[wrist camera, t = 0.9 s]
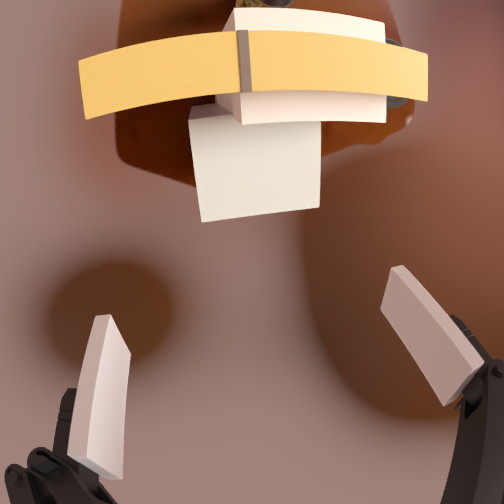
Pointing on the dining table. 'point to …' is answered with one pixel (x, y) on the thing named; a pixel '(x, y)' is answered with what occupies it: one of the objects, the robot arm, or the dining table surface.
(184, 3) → the dining table surface
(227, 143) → the grey upright block
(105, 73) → the yellow long bar
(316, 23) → the cream pillar
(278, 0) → the sauce bottle
